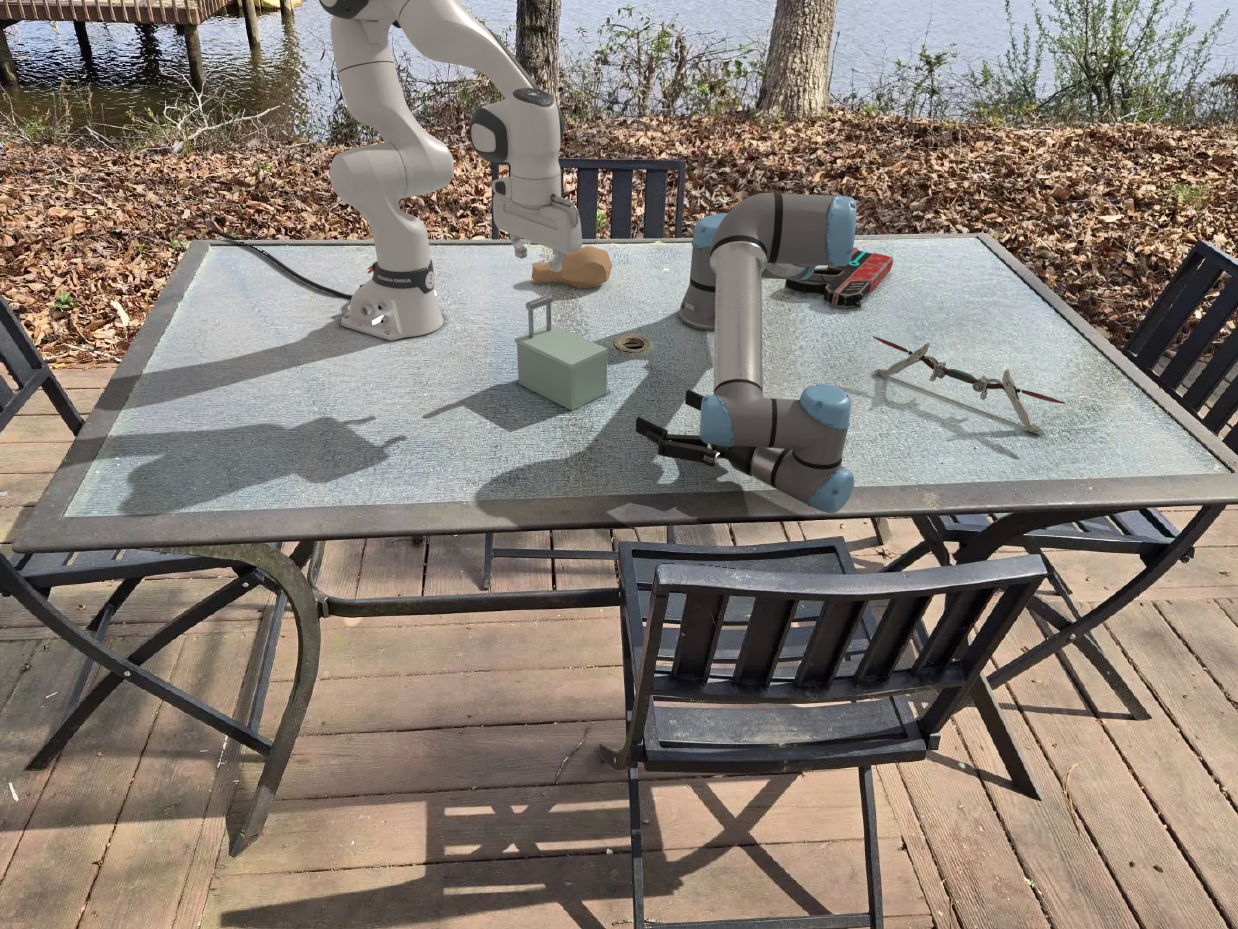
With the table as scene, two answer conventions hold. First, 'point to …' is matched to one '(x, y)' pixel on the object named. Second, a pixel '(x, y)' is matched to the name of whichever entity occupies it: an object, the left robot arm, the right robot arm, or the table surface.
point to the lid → (557, 339)
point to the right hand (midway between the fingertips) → (662, 409)
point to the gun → (845, 279)
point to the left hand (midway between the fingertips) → (538, 263)
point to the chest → (562, 378)
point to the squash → (577, 269)
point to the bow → (978, 385)
